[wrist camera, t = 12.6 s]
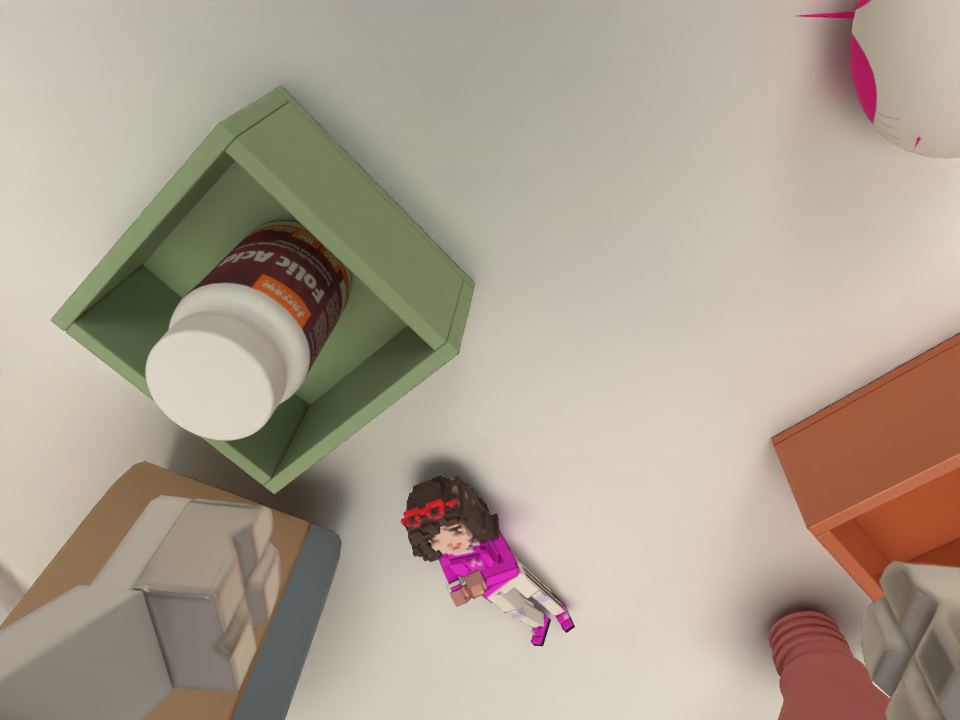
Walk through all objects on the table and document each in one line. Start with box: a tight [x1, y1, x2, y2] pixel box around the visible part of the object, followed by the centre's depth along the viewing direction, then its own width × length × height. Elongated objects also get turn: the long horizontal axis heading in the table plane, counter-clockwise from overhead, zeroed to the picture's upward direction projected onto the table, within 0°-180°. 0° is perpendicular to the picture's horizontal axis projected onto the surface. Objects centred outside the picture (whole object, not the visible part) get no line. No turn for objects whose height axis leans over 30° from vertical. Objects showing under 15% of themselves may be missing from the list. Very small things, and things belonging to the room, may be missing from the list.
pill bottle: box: [145, 221, 351, 440], centre depth 26 cm, size 5×5×8 cm
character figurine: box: [401, 475, 575, 646], centre depth 35 cm, size 6×5×12 cm
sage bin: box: [51, 86, 475, 494], centre depth 27 cm, size 10×10×6 cm
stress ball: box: [799, 0, 960, 158], centre depth 21 cm, size 8×8×7 cm
